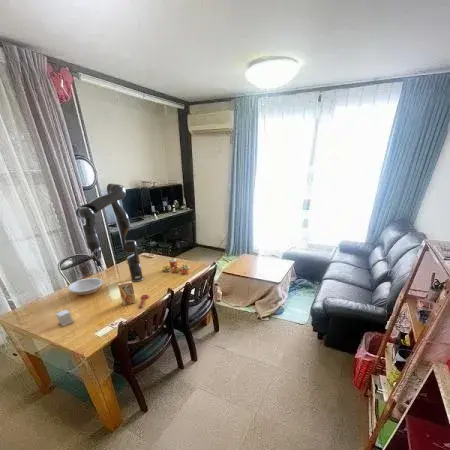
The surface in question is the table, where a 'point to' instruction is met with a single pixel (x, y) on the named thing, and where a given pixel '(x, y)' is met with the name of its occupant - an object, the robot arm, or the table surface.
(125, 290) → the candy box
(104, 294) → the table surface
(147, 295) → the spoon
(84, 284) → the soup bowl
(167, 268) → the toy tea set
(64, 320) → the grey cube
